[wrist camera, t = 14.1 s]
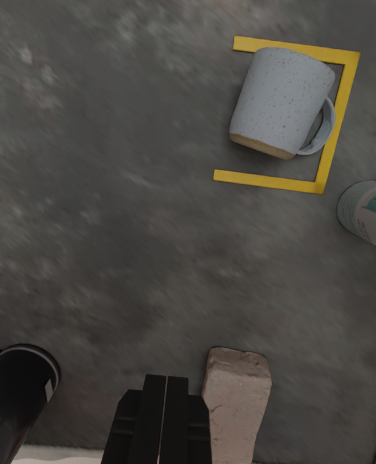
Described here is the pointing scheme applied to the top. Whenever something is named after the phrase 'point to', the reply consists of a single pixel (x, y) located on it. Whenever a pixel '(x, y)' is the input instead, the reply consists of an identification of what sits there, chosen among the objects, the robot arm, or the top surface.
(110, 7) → the top surface
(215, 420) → the brick
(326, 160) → the tape outline
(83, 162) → the top surface
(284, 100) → the ceramic mug
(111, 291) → the top surface
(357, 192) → the spray paint can
